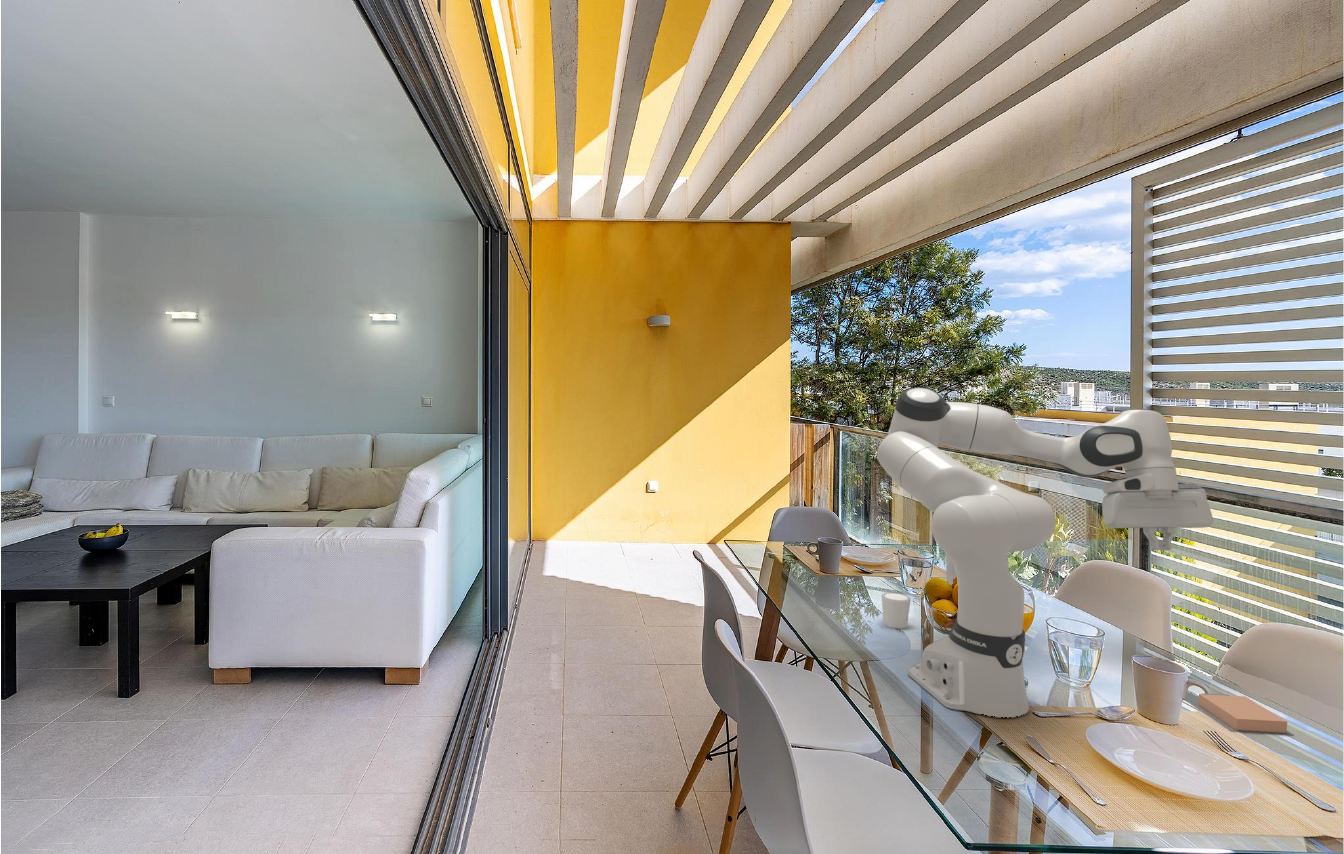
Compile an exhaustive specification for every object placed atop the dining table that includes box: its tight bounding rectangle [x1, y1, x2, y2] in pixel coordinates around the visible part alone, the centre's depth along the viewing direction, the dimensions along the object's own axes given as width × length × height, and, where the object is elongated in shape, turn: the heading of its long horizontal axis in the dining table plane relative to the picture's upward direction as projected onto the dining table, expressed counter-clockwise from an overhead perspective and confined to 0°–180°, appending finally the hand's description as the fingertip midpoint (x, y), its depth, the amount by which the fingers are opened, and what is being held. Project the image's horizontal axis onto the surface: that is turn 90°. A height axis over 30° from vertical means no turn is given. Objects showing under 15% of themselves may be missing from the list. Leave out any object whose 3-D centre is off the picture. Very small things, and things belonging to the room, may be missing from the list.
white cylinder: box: [881, 592, 912, 629], centre depth 161 cm, size 7×7×7 cm
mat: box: [1183, 692, 1294, 736], centre depth 118 cm, size 14×10×1 cm
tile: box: [1198, 693, 1288, 733], centre depth 115 cm, size 2×8×9 cm
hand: (1161, 549), depth 136 cm, fingers closed
